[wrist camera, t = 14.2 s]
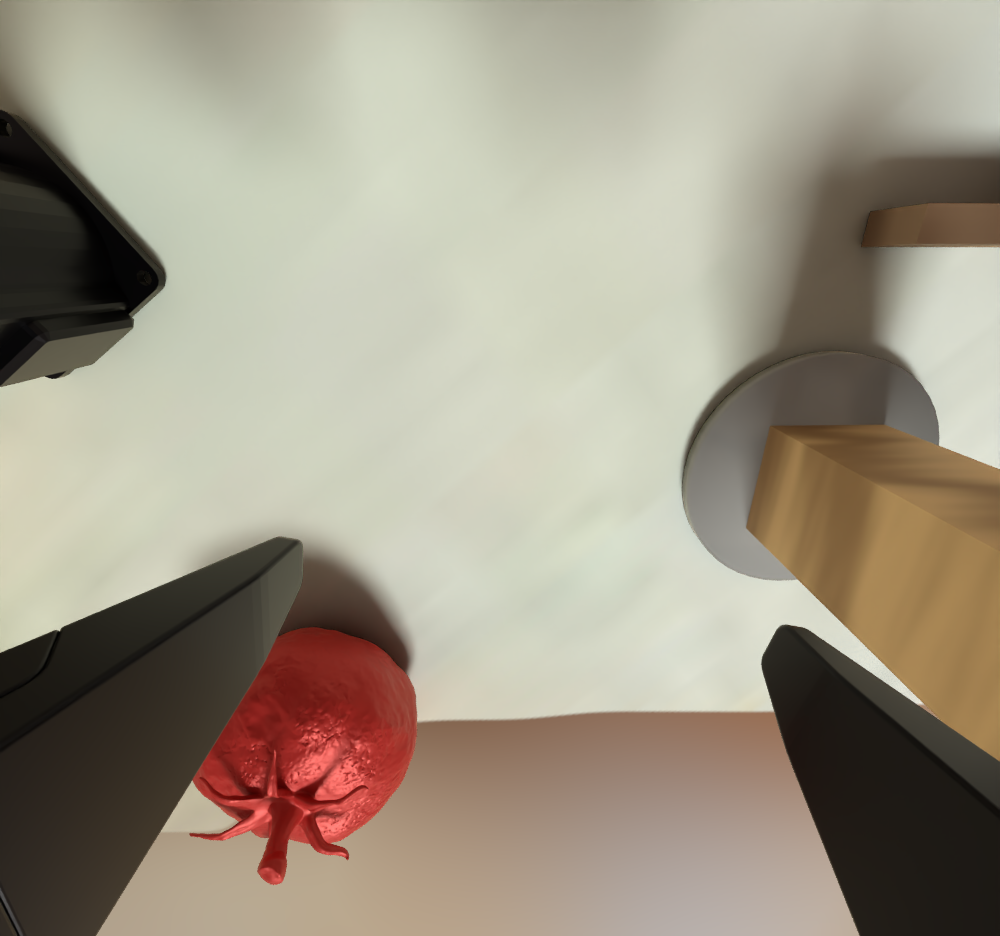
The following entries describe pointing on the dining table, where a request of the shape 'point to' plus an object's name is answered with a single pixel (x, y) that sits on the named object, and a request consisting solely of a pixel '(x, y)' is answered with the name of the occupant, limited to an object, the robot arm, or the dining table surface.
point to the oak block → (895, 556)
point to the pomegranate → (312, 745)
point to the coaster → (786, 402)
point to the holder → (935, 226)
